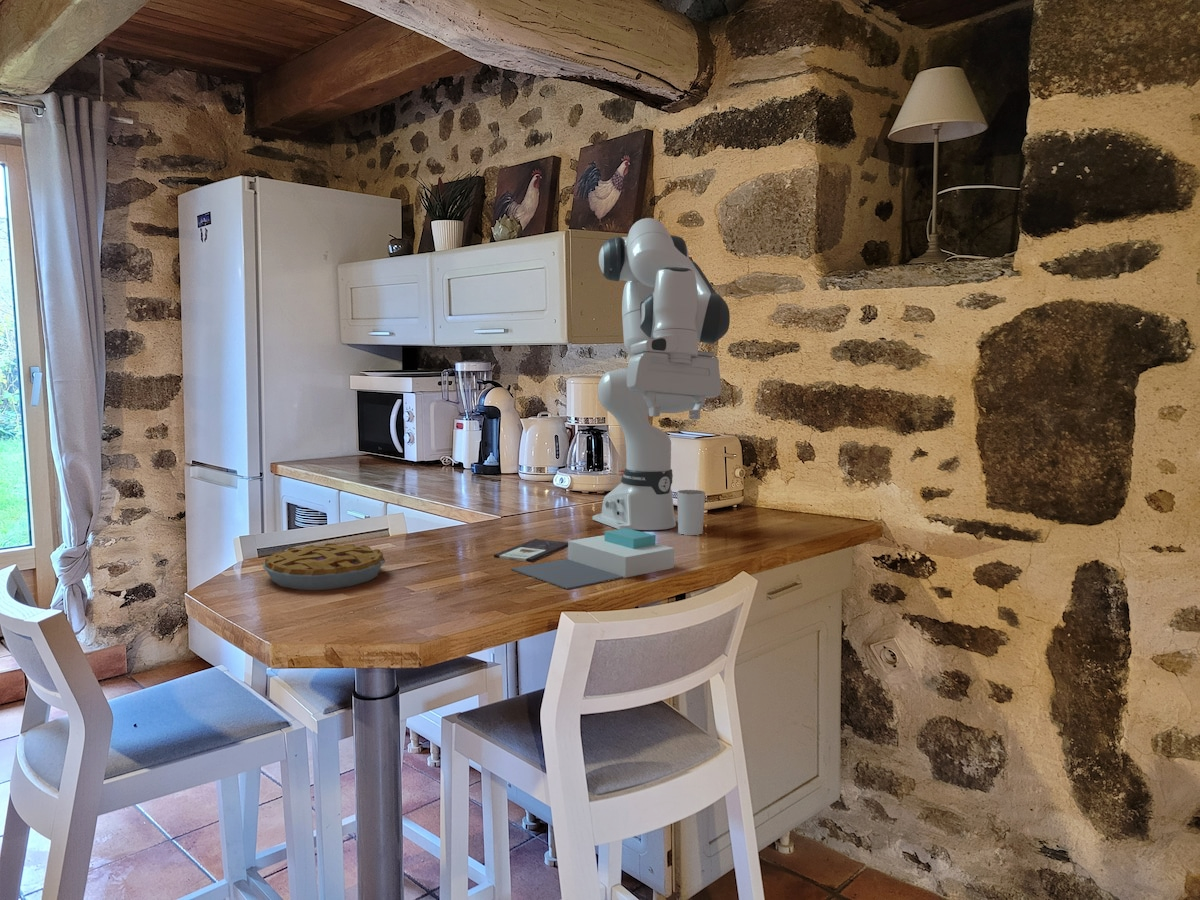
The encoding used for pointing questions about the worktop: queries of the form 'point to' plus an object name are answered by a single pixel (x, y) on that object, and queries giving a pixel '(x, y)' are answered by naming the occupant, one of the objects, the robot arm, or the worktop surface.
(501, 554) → the chocolate bar
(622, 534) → the teal block
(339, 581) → the pie
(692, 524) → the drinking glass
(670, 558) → the grey flat block
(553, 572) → the mat
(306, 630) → the worktop surface
